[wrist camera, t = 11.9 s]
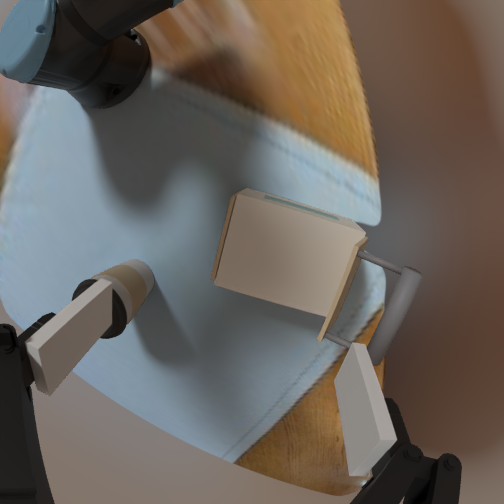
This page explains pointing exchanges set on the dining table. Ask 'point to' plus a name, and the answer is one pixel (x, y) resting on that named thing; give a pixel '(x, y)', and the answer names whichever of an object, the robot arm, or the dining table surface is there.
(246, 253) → the carton
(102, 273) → the coffee cup
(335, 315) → the drawer with bar handle
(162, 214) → the dining table surface
